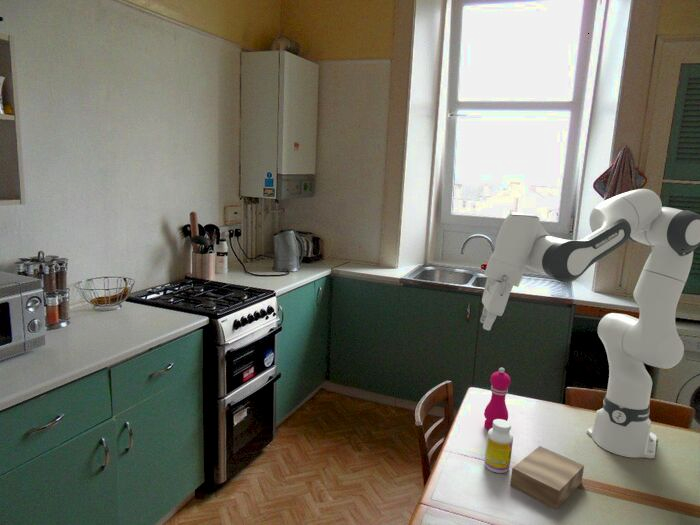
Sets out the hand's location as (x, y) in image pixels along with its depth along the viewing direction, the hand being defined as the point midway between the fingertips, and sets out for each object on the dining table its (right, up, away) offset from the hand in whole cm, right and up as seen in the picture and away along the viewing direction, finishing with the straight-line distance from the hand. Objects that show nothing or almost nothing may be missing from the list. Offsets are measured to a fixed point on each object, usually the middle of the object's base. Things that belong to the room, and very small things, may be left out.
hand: (484, 326), depth 128 cm
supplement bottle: (+6, -40, +9) cm, 41 cm away
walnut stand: (+17, -41, +3) cm, 44 cm away
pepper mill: (+11, -36, +30) cm, 48 cm away
